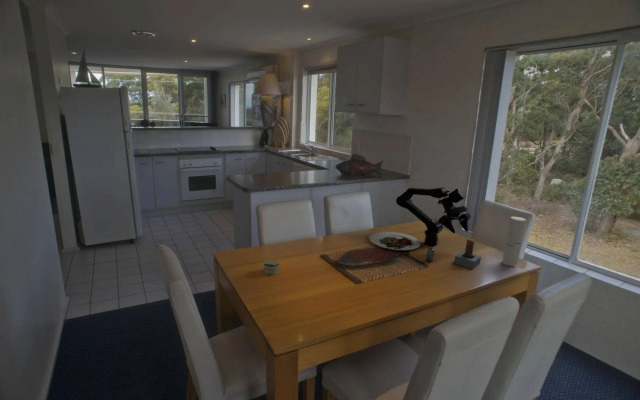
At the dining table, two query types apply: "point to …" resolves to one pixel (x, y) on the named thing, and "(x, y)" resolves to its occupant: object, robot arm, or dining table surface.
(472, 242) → the tall walnut pin
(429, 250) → the short grey pin
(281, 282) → the dining table surface
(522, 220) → the cylindrical container
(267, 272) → the grey lidded box
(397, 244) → the plated food
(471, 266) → the hole block
